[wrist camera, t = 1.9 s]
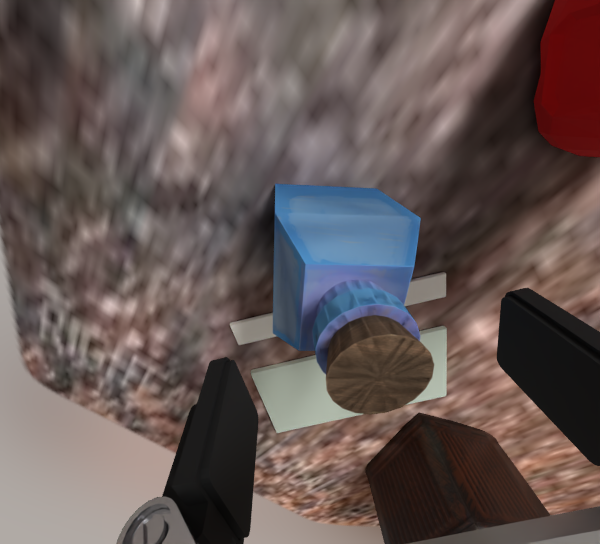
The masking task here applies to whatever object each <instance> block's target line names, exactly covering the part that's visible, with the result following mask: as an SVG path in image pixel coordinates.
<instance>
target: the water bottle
mask: <svg viewBox="0 0 600 544" xmlns="http://www.w3.org/2000/svg"><path fill="white" fill-rule="evenodd" d="M540 45H541V74H540V78H539V82H538V86H537V90H536V94H535V98H534V107H535V113H536V119H537V125H538V132H539V133H540V134H541V135H542V136H543V137H544V138H545V139H546V140H547V141H548V142H549V143H550V144H551V145H552V146H554V147H557V148H560V149H563V150H565V151H568V152H571V153H573V154H576V155H579V156H588V157H600V0H555V2H554V5H553V8H552V11H551V13H550V16H549V19H548V22H547V25H546V28H545V31H544V34H543V37H542V40H541V42H540Z"/></svg>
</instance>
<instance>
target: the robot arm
mask: <svg viewBox="0 0 600 544" xmlns="http://www.w3.org/2000/svg"><path fill="white" fill-rule="evenodd" d="M497 361H498V363H499V365H500V367H501V368H502V369H503V370H504V371H505V372H506V373H507V374H508V375H509V376H510V377H511V379H512V380H513V381H514V382H515V383H516V384H517V385H518V386H519V387H520V388H521V389H522V390H523V391H524V392H525V393H526V394H527V395H528V397H529V398H530V399H531V400H532V401H533V402H534V403H535V404H536V405H537V406H538V407H539V408H540V409H541V410H542V411H543V412H544V413H545V415H546V416H547V417H548V418H549V419H550V420H551V421H552V422H553V423H554V424H555V425H556V426H557V427H558V428H559V429H560V430H561V431H562V433H563V434H564V435H565V436H566V437H567V438H568V439H569V440H570V441H571V442H572V443H573V444H574V445H575V446H576V447H577V448H578V449H579V450H580V452H581V453H582V454H583V455H584V456H585V457H586V458H587V459H588V460H589V461H590V462H591V463H593V464H594V465H597V466H600V332H599V331H597V330H596V329H594V328H592V327H591V326H589V325H587V324H586V323H584V322H583V321H581V320H579V319H578V318H576V317H575V316H573V315H571V314H570V313H568V312H567V311H565V310H563V309H562V308H560V307H559V306H557V305H555V304H554V303H552V302H550V301H549V300H547V299H546V298H544V297H542V296H541V295H539V294H538V293H536V292H534V291H533V290H531V289H529V288H523V289H519V290H515V291H510V292H508V293H506V295H505V297H504V298H503V299H502V301H501V311H500V323H499V336H498V348H497ZM257 432H258V413H257V410H256V408H255V405H254V403H253V401H252V399H251V396H250V394H249V392H248V390H247V387H246V385H245V383H244V381H243V378H242V376H241V374H240V372H239V369H238V367H237V365H236V363H235V361H234V360H231V361H230V360H229V358H228V357H226V358H221V359H217V360H213V361H211V362H210V363H209V366H208V370H207V373H206V376H205V379H204V383H203V386H202V389H201V393H200V396H199V399H198V402H197V404H196V405H194V406H193V407H192V408H191V410H190V412H189V415H188V419H187V422H186V425H185V428H184V431H183V434H182V437H181V440H180V443H179V446H178V449H177V452H176V456H175V459H174V462H173V465H172V468H171V471H170V474H169V477H168V480H167V484H166V486H165V490H164V493H163V496H162V497H157V498H154V499H152V500H150V501H148V502H146V503H145V504H144V505H142V506H141V507H140V508H138V510H137V511H136V512H135V513H134V514H133V515H132V516H131V517H130V518H129V520H128V521H127V523H126V524H125V526H124V527H123V529H122V532H121V534H120V536H119V538H118V540H117V544H243V542H244V538H245V537H248V536H249V532H250V524H251V511H252V498H253V485H254V472H255V458H256V445H257ZM408 544H600V506H599V507H594V508H589V509H584V510H578V511H573V512H568V513H562V514H557V515H552V516H547V517H541V518H536V519H531V520H526V521H521V522H516V523H510V524H505V525H500V526H495V527H490V528H485V529H480V530H474V531H469V532H464V533H459V534H454V535H449V536H444V537H439V538H434V539H429V540H424V541H418V542H413V543H408Z"/></svg>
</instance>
